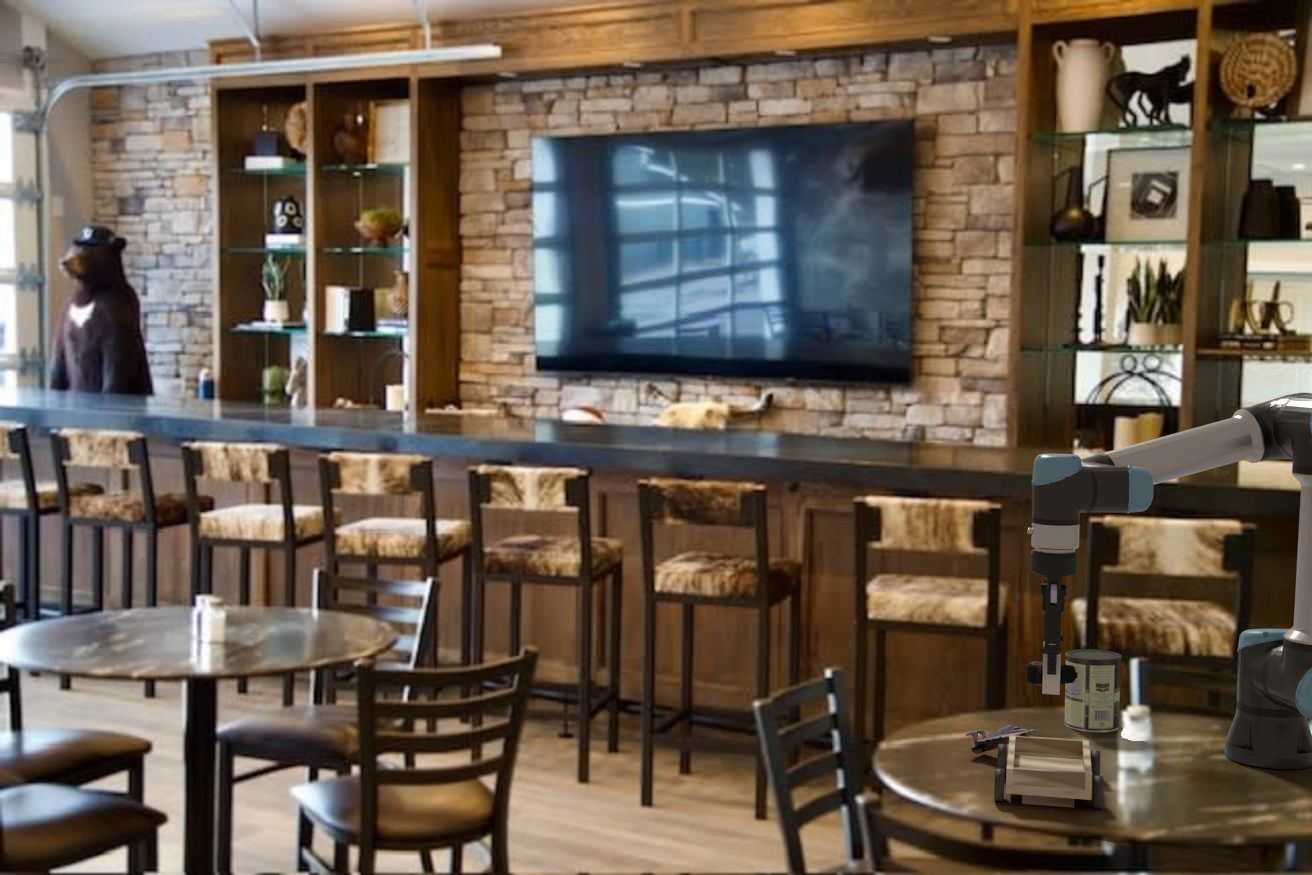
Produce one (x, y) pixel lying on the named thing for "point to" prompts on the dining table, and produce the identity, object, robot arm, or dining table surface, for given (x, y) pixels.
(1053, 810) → the dining table surface
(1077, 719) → the coffee can
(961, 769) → the dining table surface
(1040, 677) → the tape measure
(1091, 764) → the cart
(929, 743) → the dining table surface
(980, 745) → the toy race car
